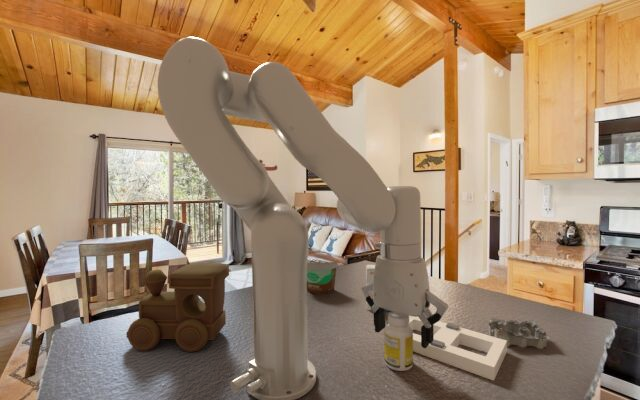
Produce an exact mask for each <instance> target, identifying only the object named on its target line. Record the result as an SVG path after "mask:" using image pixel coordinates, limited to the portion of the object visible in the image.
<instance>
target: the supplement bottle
mask: <svg viewBox="0 0 640 400" xmlns="http://www.w3.org/2000/svg"><path fill="white" fill-rule="evenodd" d="M408 324H409V315H405V314H401V313H398V312H394V311H389V312H388V314H387V323H385V328H384V329H383V333H384V334H383V335H384V337H383V339H384V340H383V341H384V345H383V346H384V347H383V348H384V352H383V353H384V355H383V356H384V363H385V366H387V367H388V368H389V369H391V370H393V371H398V372H405V371H409V370H410V369H412V368H413V363H414V356H413V355H414V354H413V353H414V351H413V333H414V330H412V328H411V326H410V325H408Z"/></svg>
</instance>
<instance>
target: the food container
mask: <svg viewBox="0 0 640 400" xmlns="http://www.w3.org/2000/svg"><path fill="white" fill-rule="evenodd" d="M338 267H339V262H338V260H337V259H336V260H334V261H331V262H330V261H325V260H307V293H308V292H309V293H310V294H311V293H312V294H316V295H319V294H320V295H323V294H324V295H325V294H328V293H332V292H333V291H335V284H336V275H337V268H338Z"/></svg>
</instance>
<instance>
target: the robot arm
mask: <svg viewBox="0 0 640 400" xmlns="http://www.w3.org/2000/svg"><path fill="white" fill-rule="evenodd" d="M157 75H158V76H157V96H158V100H159V104H160V108H161V110H162V113H163V116H164V119H165V120H166V122H167V124H168V126H169V127H170V129H171V130H172V132H173V135H175V137H176V138H177V140H178V141H179V143H180V144H181V145H182V147H183V148H184V150H185V151H186V153H188V155H189V157H190V158H191V160H193V162H194V164H195V165H196V166H197V168H198V169H199V170H200V172H201V173H202V174H203V176H204V177H205V179H206V180H207V181H208V183H209V184H210V186H211V187H212V188H213V190H214V192H215V193H216V195H217V196H218V197H219V199H220V200H221V201H222V202H223V203H224V204H225V205H227V206H229V207H230V208H232V209H233V210H234V211H235V212H236V214H237V215H238V216H239V218H240V219H241V220H242V221H243V223H244V224H245V226H246V227H247V228H248V229H249V230H250V249H251V252H250V253H251V274H252V275H251V278H252V279H251V282H252V286H251V287H252V303H253V304H252V308H253V310H252V313H253V314H252V316H253V317H252V318H253V325H252V326H253V359H252V360H250V361H249V362H248V364H249V365H248V369H247V370H246V371H245V372H244V374H242V375H240V376H238V377H236V378H234V379H232V380H231V381H230V383H229V386H230V390H231V392H232V393H233V394H237V393H238V392H240V391H241V390H243V389H245V388H246V391H247V394H249V395H250V396H252V397H253V398H255V399H257V400H298V399H300V398H301V397H304V396H305V395H306V394H308V393H309V392H310V391H311V390H312V389H313V388H314V386H315V384H316V382H317V370H316V369H317V368H316V367H315V365H314V364H313V363H312V362H311V361H310V360H309V358H308V291H307V261H308V259H309V258H308V257H309V242H310V241H309V240H310V239H309V230H308V226H307V223H306V221H305V219H304V218H303V216H302V215H301V214H300V212H298V211H297V210H296V209H295V208H293V206H291V205H290V203H289V201H288V200H287V199H286V197H284V195H283V194H282V192H281V191H280V190H279V188H278V187H277V186H276V184H275V182H274V181H273V180H272V178H271V177H270V175H269V173H268V171H267V168H266V167H265V166H264V164H263V163H262V162H261V161H260V160H259V159H258V158H257V157H256V156H255V155H254V153H253V152H252V151H251V150H250V148H249V147H248V145H246V143H245V142H244V140H243V139H242V138H241V136H240V134H239V133H238V131H236V128H235V127H234V126H233V124H232V123H231V121H230V120H229V118H228V117H232V118H238V119H242V120H243V119H244V120H246V121H247V120H249V121H254V122H261V123H267V124H268V126H270V127H271V129H272V130H273V131H274V133H275V134H276V135H277V137H278V138H279V139H280V140H281V142H282V143H283V145H284V146H285V148H286V149H287V150H288V151H289V153H290V154H291V155H292V156H293V158H294V159H295V160H296V161H297V162H298V163H299V164H300V165H301V166H302V167H303V168H305V169H307V170H308V171H310V172H311V173H313V174H314V175H315V176H317V177H318V178H319V179H320V180H321V181H322V182H323V183H324V184H325V185H327V187H328V188H329V189H330V190H331V192H333V193H334V195H335V196H336V197H337V200H336V211H337V213H338V216H339V217H340V218H341V220H343V221H344V222H345V223H346V224H348V225H350V226H353V227H356V228H358V229H361V230H362V231H365V232H366V233H367V232H368V233H378V232H379V233H380V234H379V235H380V236H379V238H380V239H379V241H376V242H375V244H374V246H375V247H374V248H375V249H378V250H379V254H378V255H377V256H376V259H375V264H374V265H375V270H374V279H373V283H371V284H369V285H366V284H365V285H364V286H362V287H361V291H362V293H363V296H364V297H365V301H367V303H368V304H369V305H370V307H371V310H370V311H371V312H372V313H373V325H374V333H380V332H381V331H382V330H384V329H385V325H386V311H385V310H384V309H387V310H390V311H389V312H392V311H394V312H398V313H401V314H405V315H409V316H414V317H417V316H418V317H419V318H420V320H421V321H422V323H423V324H424V325H423V326H422V327H421V332H420V333H421V334H420V335H421V346H422V347H423V348H426V347H427V346H428V345H429V344H430V343H432V342H433V338H434V334H433V325H434V324H435V323H436V322H438V321H440V320H441V319H442V318H443V317H444V315H445V313H446V312H447V310H448V309H449V305H448V303H447V302H445V301H444V300H442V299H441V298H439V296H437V295H435V294H434V293H433V292H431V291H430V281H429V275H428V273H429V272H428V268H427V264H426V261H425V258H423V257H422V223H421V222H422V219H421V216H422V215H421V192H420V190H419V189H418V188H417V187H416V186H413V185H397V186H396V185H394V186H386V184H385V183H384V181H383V180H382V179H381V177H380V176H379V174H378V173H377V172H376V170H375V169H374V168H373V167H372V165H371V164H370V163H369V162H368V161H367V159H366V158H364V156H363V155H361V153H360V152H358V151H357V150H356V149H355V148H354V147H353V146H352V145H351V144H350V143H349V142H348V141H347V139H345V138H344V137H343V136H341V135H340V134H339V133H338V132H337V131H336V130H335V128H334V127H333V126H332V125H331V124H330V122H329V121H328V120H327V118H326V117H325V116H324V114H323V113H322V112H321V110H320V109H319V107H318V106H317V105H316V103H315V102H314V101H313V99H312V98H311V97H310V95H309V94H308V92H307V91H306V90H305V87H304V86H303V85H302V84H301V83H300V81H299V80H298V79H297V77H296V76H295V75H294V74H293V72H292V71H291V70H290V69H289V68H288V67H287V66H285V65H284V64H283V63H280V62H277V61H268V62H264V63H262V64H261V65H259V66H258V67H257V68H255V69H254V70H253V72H252V73H251V75H248V74H243V73H239V72H235V71H231V70H230V69H229V66H228V63H227V61H226V59H225V58H224V55H223V54H222V53H221V52H220V51H219V49H217V48H216V47H215V46H214V45H213V44H212V43H210V42H208V41H206V40H205V39H203V38H199V37H195V36H187V37H183V38H180V39H178V40H177V41H175V42H174V43H173V44H172V45H171V46H170V47H169V48H168V49H167V51H166V53H165V54H164V56H163V58H162V61H161V63H160V67H159V70H158V74H157ZM372 290H373V295H372ZM431 305H432V306H434V307H435V308H436V311H435V313H432V311H431V309H430V306H431Z"/></svg>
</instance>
